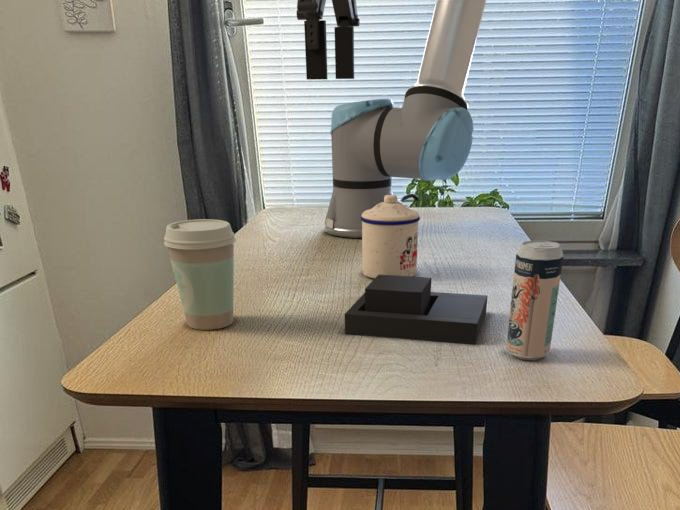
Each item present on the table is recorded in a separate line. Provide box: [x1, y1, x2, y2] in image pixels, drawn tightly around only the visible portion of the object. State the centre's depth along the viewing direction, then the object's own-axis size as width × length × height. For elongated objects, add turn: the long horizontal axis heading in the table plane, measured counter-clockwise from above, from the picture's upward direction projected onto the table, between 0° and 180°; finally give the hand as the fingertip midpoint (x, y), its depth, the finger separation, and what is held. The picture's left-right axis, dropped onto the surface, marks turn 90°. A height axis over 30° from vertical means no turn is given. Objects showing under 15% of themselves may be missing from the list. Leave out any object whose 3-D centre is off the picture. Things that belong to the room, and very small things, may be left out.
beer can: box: [505, 239, 564, 361], centre depth 72 cm, size 5×5×12 cm
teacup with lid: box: [361, 194, 421, 280], centre depth 105 cm, size 12×9×12 cm
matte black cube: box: [364, 275, 432, 316], centre depth 84 cm, size 7×7×5 cm
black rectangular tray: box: [344, 291, 488, 345], centre depth 85 cm, size 12×16×2 cm
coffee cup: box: [163, 218, 237, 331], centre depth 83 cm, size 8×9×12 cm
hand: (331, 79), depth 95 cm, fingers open, 13 cm apart
